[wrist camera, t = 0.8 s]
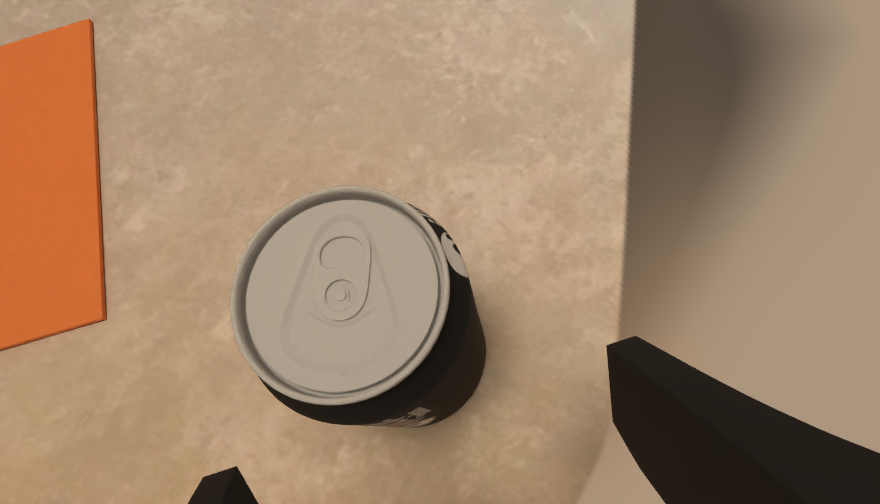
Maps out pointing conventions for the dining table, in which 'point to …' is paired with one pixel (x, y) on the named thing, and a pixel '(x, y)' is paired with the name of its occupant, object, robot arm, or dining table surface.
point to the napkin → (49, 187)
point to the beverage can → (358, 311)
